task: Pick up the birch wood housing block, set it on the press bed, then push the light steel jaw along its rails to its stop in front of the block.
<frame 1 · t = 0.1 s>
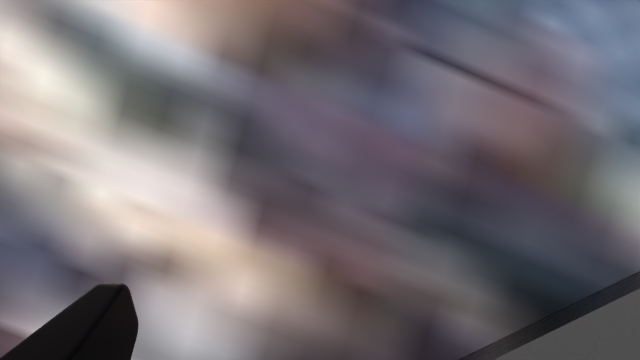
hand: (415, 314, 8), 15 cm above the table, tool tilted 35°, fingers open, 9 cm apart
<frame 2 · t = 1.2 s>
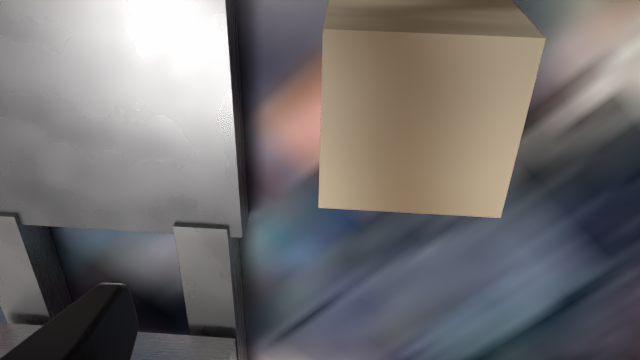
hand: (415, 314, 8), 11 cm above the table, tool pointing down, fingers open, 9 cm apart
press bed: (89, 103, 19), on the table
housing block: (406, 61, 18), on the table
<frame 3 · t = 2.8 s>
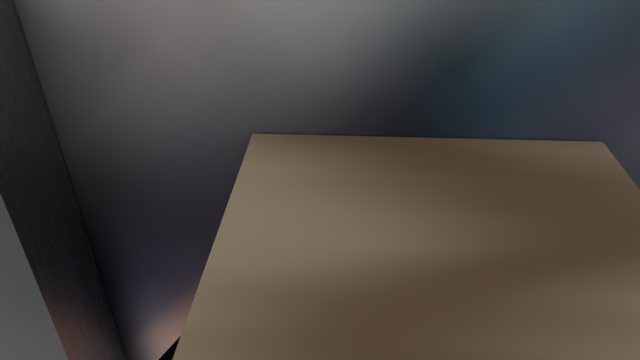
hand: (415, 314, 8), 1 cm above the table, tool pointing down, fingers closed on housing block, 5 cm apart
housing block: (409, 267, 9), on the table, touching gripper
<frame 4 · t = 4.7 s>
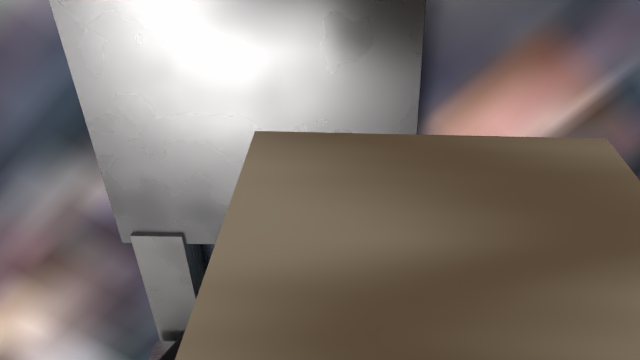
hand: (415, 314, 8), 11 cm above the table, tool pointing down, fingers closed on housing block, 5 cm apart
press bed: (257, 120, 19), on the table
housing block: (412, 265, 9), point 10 cm above the table, touching gripper
when the fingers open (4 cm above the table, at t = 6.7 s): housing block drops 1 cm, resting on press bed.
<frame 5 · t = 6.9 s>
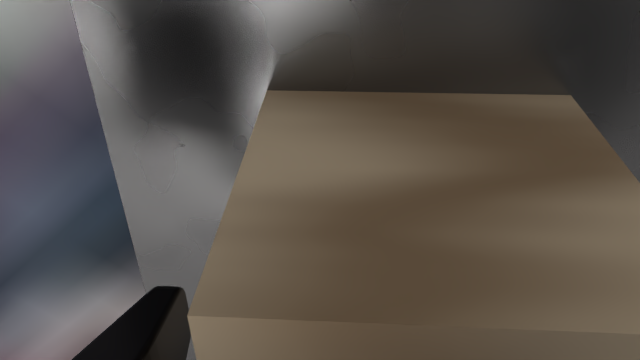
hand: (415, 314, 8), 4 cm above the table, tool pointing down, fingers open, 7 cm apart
press bed: (392, 244, 13), on the table
housing block: (404, 213, 10), point 1 cm above the table, touching press bed
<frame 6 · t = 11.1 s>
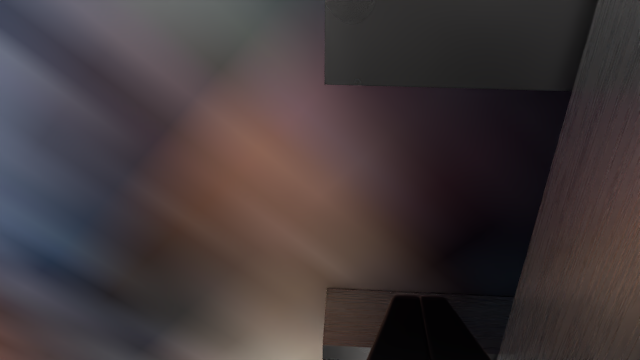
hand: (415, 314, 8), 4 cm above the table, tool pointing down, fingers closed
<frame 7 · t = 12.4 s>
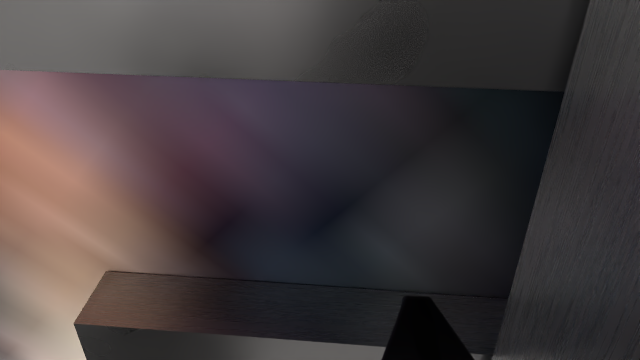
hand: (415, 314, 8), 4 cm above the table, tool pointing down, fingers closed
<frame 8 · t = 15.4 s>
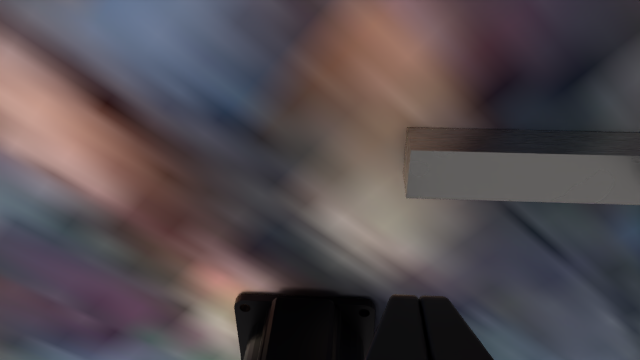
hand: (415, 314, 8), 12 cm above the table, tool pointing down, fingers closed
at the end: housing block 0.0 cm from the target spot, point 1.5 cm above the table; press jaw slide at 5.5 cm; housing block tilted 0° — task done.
